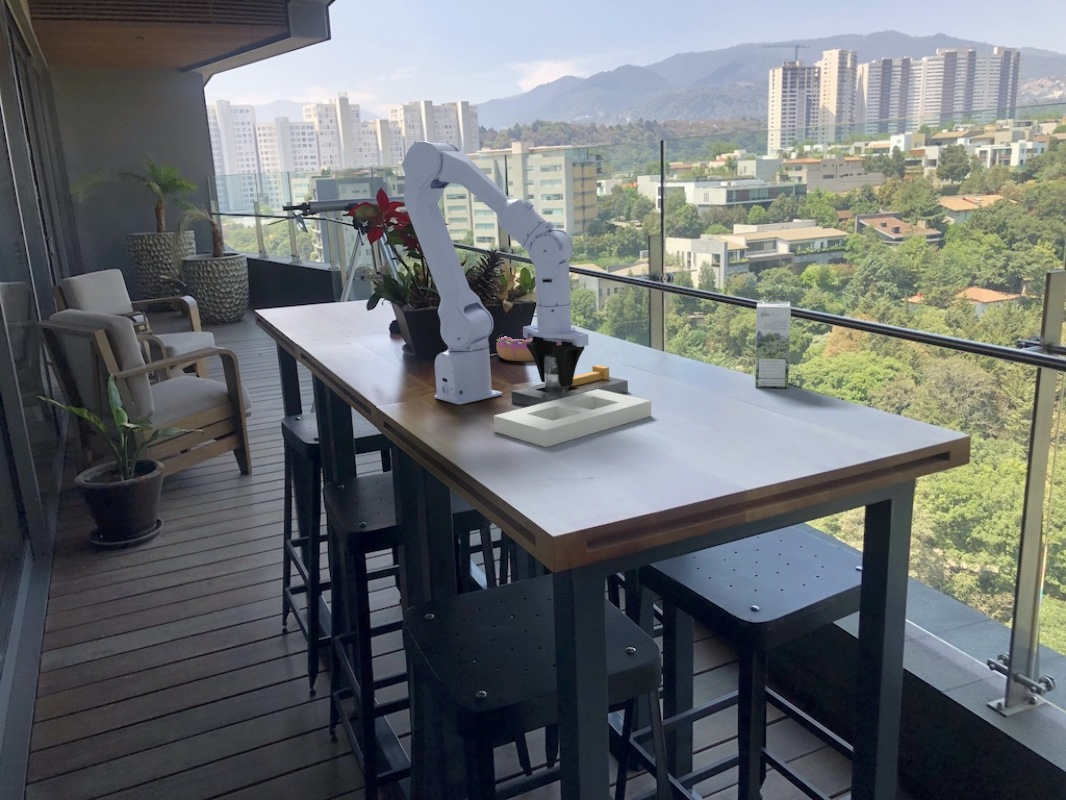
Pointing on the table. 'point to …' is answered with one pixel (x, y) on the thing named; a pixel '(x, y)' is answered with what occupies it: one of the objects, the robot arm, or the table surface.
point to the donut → (515, 349)
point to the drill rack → (571, 417)
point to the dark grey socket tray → (538, 394)
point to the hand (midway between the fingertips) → (556, 383)
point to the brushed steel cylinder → (552, 375)
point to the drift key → (592, 375)
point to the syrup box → (772, 344)
